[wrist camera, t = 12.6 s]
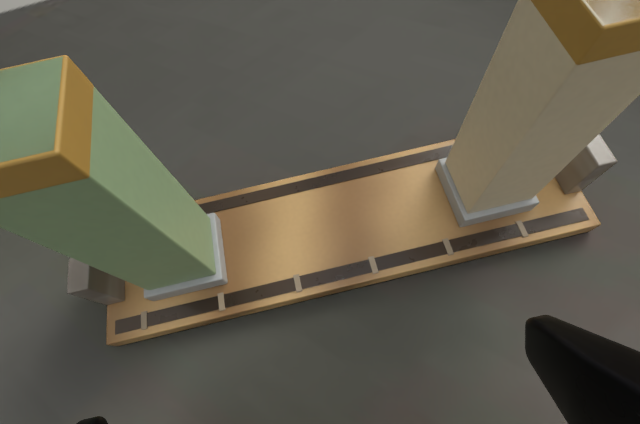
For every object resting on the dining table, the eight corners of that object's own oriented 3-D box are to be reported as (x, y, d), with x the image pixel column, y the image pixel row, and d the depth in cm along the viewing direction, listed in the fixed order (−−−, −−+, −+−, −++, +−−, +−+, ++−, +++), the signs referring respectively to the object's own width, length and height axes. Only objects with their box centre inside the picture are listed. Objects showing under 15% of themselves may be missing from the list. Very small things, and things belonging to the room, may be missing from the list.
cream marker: (459, 228, 19) (600, 38, 9) (434, 168, 21) (526, -57, 10) (531, 210, 20) (762, 1, 9) (501, 152, 21) (664, -88, 10)
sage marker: (152, 302, 19) (-112, 202, 8) (150, 235, 21) (-74, 76, 10) (228, 283, 19) (67, 161, 8) (220, 218, 21) (76, 43, 10)
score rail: (117, 346, 19) (62, 339, 16) (118, 226, 22) (72, 196, 18) (590, 231, 20) (644, 198, 16) (531, 129, 23) (565, 82, 19)
